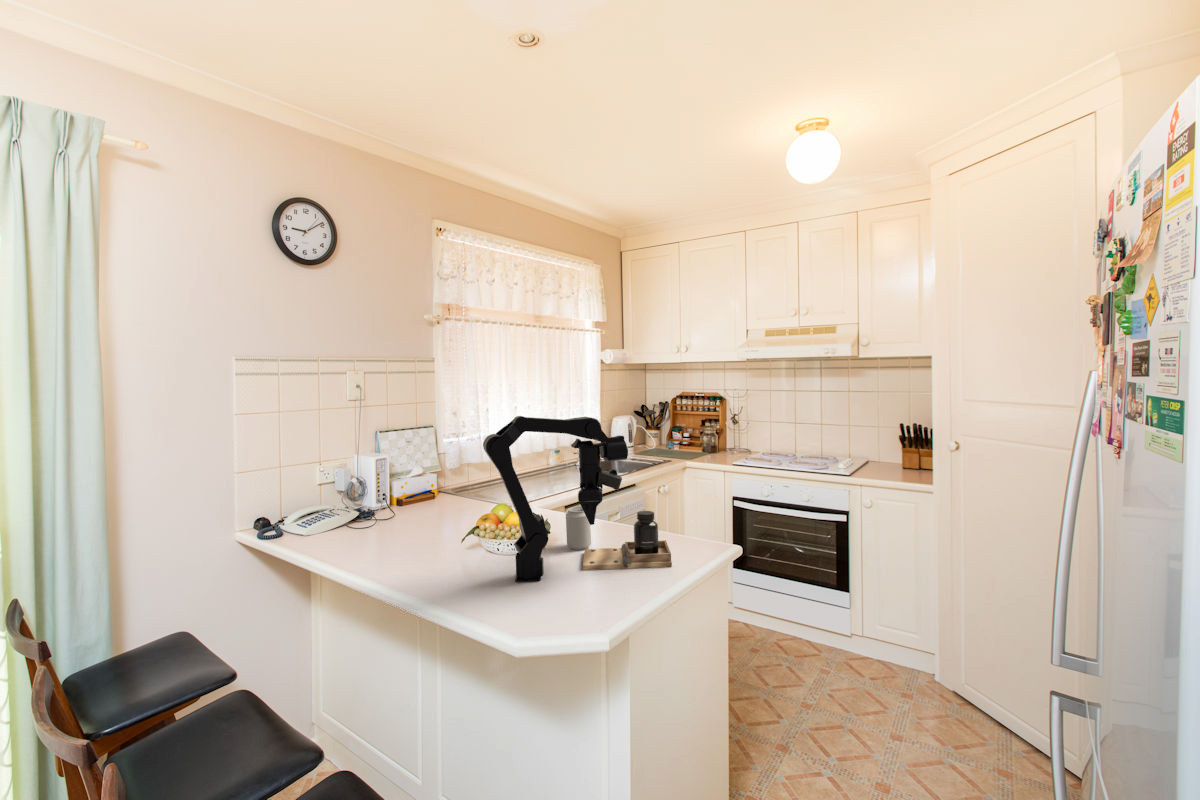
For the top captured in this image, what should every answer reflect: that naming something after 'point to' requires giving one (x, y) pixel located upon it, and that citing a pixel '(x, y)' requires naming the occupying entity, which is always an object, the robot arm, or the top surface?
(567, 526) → the can
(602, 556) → the hinge jig
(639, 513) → the supplement bottle
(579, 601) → the top surface
